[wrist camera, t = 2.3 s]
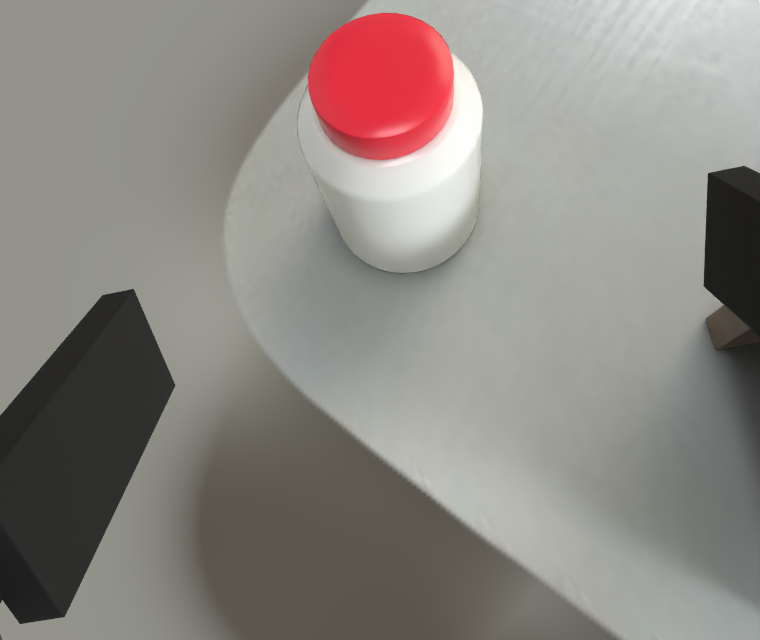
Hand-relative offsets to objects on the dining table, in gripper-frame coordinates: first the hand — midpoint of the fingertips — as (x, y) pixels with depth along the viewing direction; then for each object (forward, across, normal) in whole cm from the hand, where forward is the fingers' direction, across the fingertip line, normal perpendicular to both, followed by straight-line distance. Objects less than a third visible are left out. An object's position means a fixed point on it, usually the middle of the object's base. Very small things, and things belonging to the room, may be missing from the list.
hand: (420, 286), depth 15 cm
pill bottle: (+20, 0, -5) cm, 20 cm away
